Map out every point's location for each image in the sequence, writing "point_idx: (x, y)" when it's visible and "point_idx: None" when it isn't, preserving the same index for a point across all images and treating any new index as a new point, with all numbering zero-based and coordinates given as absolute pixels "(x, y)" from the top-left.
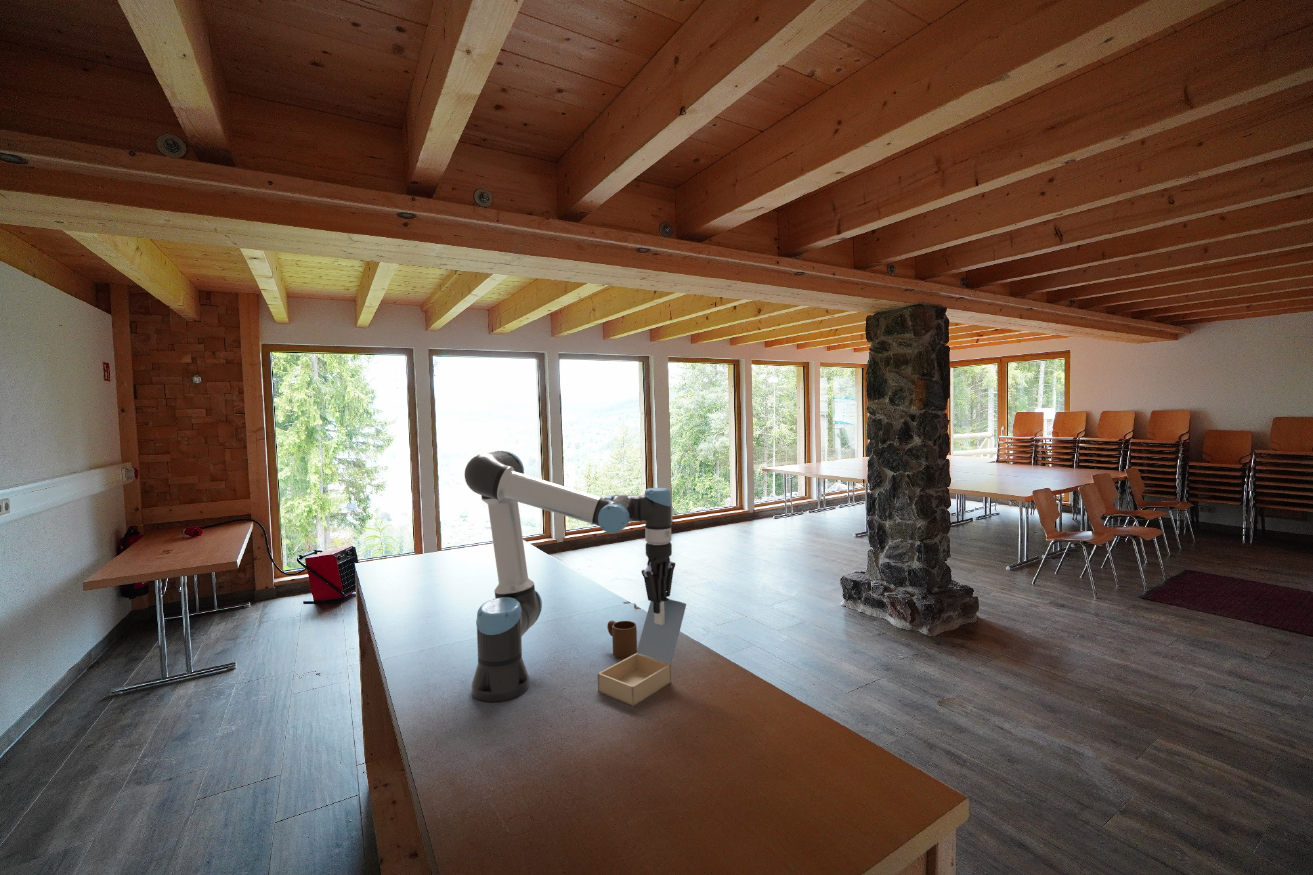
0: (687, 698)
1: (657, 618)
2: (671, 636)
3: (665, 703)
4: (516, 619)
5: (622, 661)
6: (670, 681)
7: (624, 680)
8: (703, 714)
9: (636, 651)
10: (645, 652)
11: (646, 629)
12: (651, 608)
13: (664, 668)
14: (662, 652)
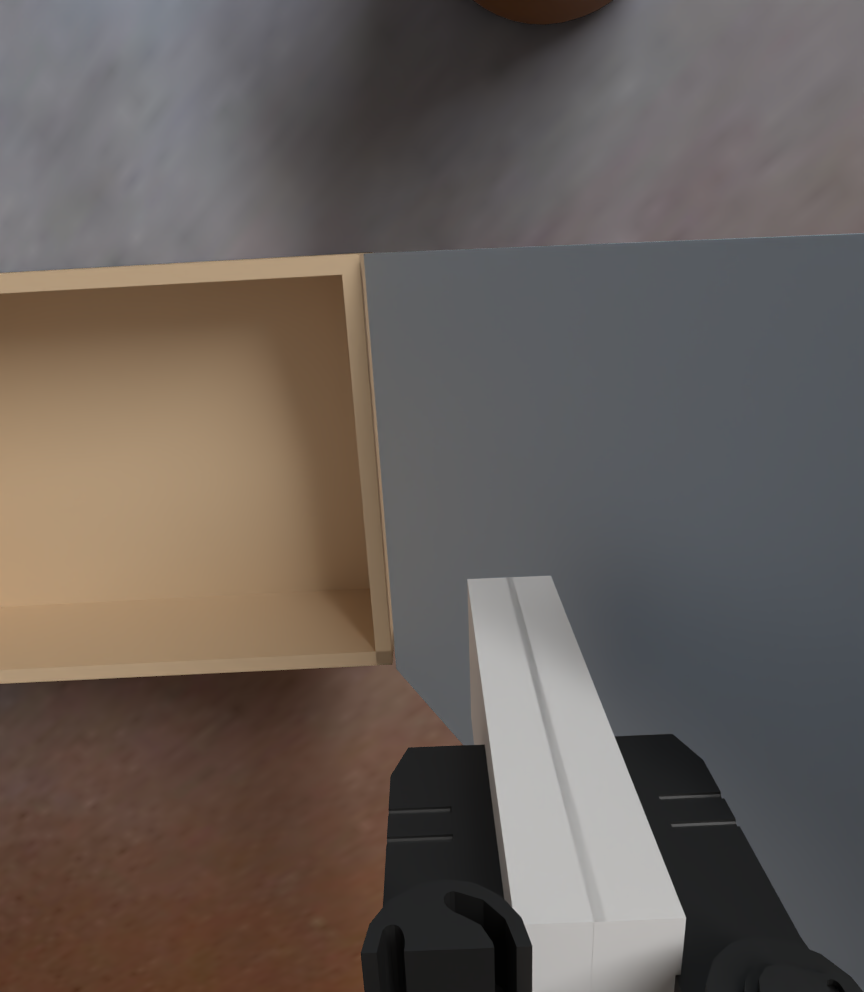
0: (312, 781)
1: (474, 696)
2: None
3: (173, 728)
4: None
5: (118, 284)
6: None
7: (151, 330)
8: (245, 920)
9: (607, 1)
10: (381, 375)
11: (502, 321)
12: (783, 333)
13: (306, 668)
14: (419, 587)
